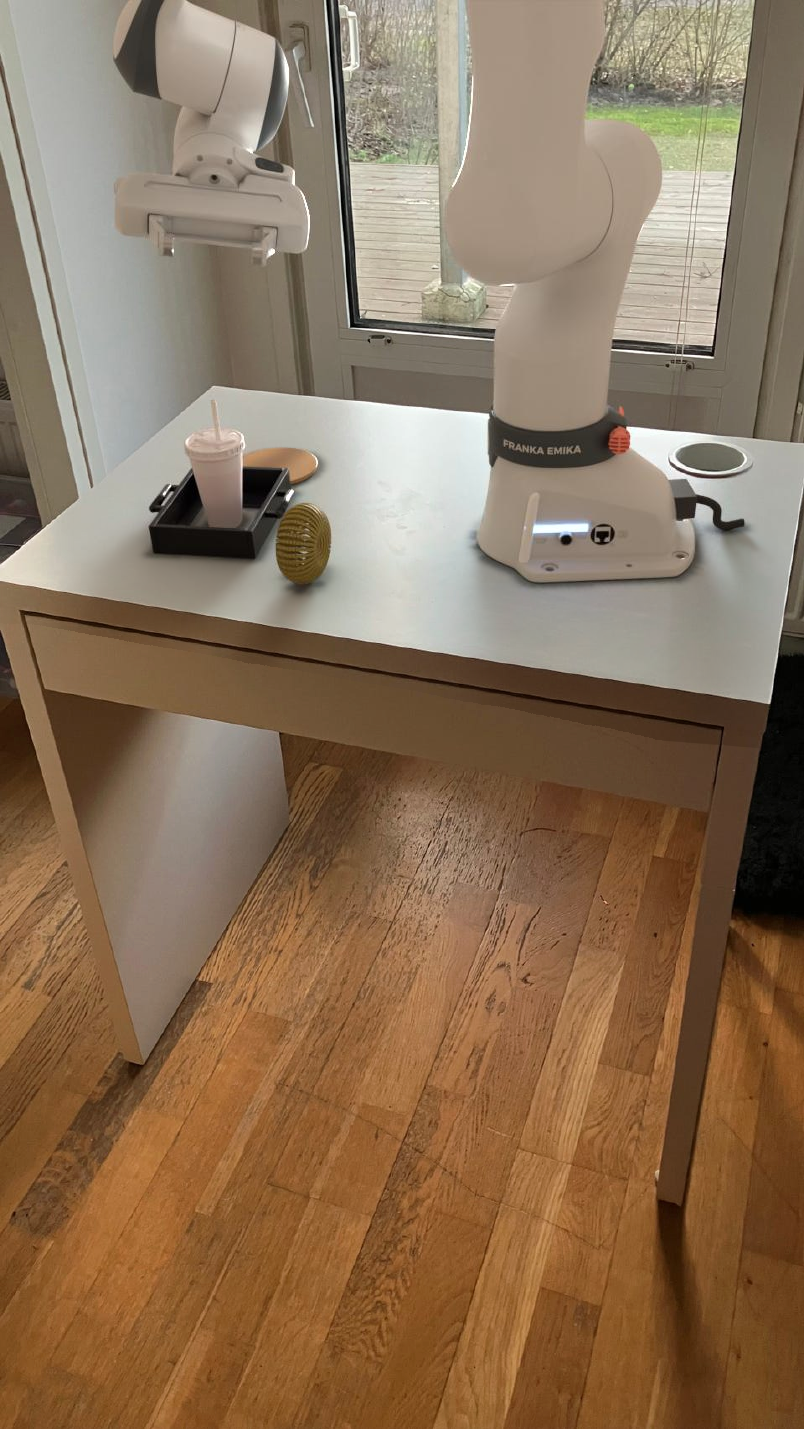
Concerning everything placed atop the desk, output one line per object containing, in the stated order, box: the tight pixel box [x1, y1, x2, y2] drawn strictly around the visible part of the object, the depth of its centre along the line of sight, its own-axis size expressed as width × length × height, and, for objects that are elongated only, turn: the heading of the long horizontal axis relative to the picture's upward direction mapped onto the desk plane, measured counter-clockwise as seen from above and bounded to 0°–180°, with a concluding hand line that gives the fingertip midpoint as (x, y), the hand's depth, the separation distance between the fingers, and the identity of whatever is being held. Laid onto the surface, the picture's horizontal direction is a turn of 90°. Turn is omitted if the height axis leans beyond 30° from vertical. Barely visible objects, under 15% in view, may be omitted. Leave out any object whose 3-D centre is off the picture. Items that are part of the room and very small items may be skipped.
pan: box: [148, 466, 295, 560], centre depth 129 cm, size 15×15×3 cm
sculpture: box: [275, 502, 332, 585], centre depth 117 cm, size 8×4×8 cm, turn 162°
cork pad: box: [242, 447, 319, 485], centre depth 141 cm, size 10×10×1 cm
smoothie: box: [183, 398, 246, 528], centre depth 126 cm, size 6×6×14 cm
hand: (213, 255), depth 121 cm, fingers open, 8 cm apart
